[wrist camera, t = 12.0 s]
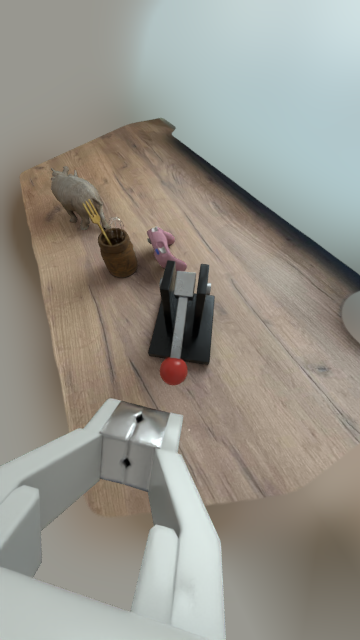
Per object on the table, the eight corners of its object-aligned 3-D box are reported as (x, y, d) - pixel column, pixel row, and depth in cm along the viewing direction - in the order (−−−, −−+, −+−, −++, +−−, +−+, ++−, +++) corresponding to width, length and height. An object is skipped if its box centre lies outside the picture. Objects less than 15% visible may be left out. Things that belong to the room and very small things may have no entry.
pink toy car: (158, 250, 43) (139, 227, 37) (175, 238, 42) (158, 213, 36) (170, 282, 38) (150, 261, 32) (189, 270, 37) (173, 246, 31)
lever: (186, 383, 23) (184, 390, 20) (160, 379, 24) (155, 385, 20) (199, 280, 24) (200, 272, 21) (174, 277, 25) (172, 269, 21)
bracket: (208, 365, 28) (223, 328, 18) (149, 356, 29) (131, 316, 19) (213, 299, 34) (227, 244, 24) (164, 293, 35) (157, 237, 25)
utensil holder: (126, 283, 36) (104, 224, 26) (101, 270, 38) (70, 210, 27) (144, 263, 39) (130, 202, 28) (120, 253, 40) (98, 191, 30)
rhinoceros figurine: (80, 237, 39) (34, 145, 32) (76, 243, 50) (41, 175, 43) (116, 226, 42) (80, 139, 35) (104, 234, 53) (75, 169, 46)
